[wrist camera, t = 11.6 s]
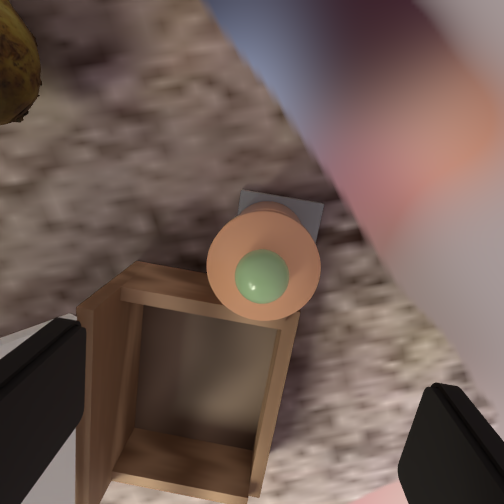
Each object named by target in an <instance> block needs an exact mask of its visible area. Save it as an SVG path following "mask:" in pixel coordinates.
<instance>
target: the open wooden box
mask: <svg viewBox="0 0 504 504" xmlns="http://www.w3.org/2000/svg"><path fill="white" fill-rule="evenodd" d="M299 316H300V309H299V310H298V311H296V312H295V313H293V314H291V315H289V316H287V317H284V318H281V319H277V320H271V321H259V320H252V319H248V318H245V317H242V316H240V315H238V314H236V313H234V312H232V311H231V310H229V309H228V308H227V307H226V306H225V305H223V304H222V302H221V301H220V300H219V299H218V298H217V296H216V295H215V293H214V292H213V290H212V288H211V286H210V283H209V280H208V275H207V273H202V272H196V271H190V270H185V269H179V268H174V267H168V266H162V265H157V264H151V263H146V262H140V261H136V262H134V263H133V264H132V265H130V266H129V267H128V268H127V269H125V270H124V271H123V272H121V273H120V274H119V275H117V276H116V277H115V278H114V279H112V280H111V281H110V282H108V283H107V284H106V285H104V286H103V287H102V288H101V289H99V290H98V291H97V292H95V293H94V294H93V295H91V296H90V297H89V298H88V299H86V300H85V301H84V302H82V303H81V304H80V305H78V306H77V307H76V317H77V321H79V322H80V323H81V327H85V328H86V333H87V334H86V368H85V401H84V412H83V416H82V418H81V420H80V422H79V424H78V425H77V427H76V452H75V504H99V503H100V501H101V499H102V498H103V496H104V494H105V492H106V490H107V488H108V486H109V484H110V482H111V481H116V482H121V483H126V484H131V485H136V486H141V487H146V488H151V489H156V490H161V491H166V492H171V493H176V494H181V495H186V496H191V497H196V498H201V499H206V500H211V501H216V502H221V503H226V504H247V501H248V496H252V497H257V498H259V497H260V493H261V488H262V484H263V479H264V475H265V470H266V465H267V461H268V456H269V452H270V447H271V443H272V438H273V434H274V429H275V425H276V420H277V416H278V411H279V407H280V402H281V398H282V393H283V389H284V384H285V380H286V375H287V371H288V366H289V362H290V357H291V353H292V348H293V344H294V339H295V335H296V330H297V325H298V321H299Z"/></svg>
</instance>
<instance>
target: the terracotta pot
mask: <svg viewBox="0 0 504 504" xmlns="http://www.w3.org/2000/svg"><path fill="white" fill-rule="evenodd" d="M320 273H321V263H320V256H319V253H318V250H317V247H316V245H315V242H314V240H313V238H312V236H311V235H310V233H309V232H308V230H307V229H306V228H305V227H304V226H303V225H302V224H301V221H300V220H299V218H298V216H297V215H296V214H295V213H294V212H293V211H292V210H291V209H290V208H288V207H287V206H285V205H283V204H280V203H277V202H272V201H262V202H257V203H254V204H252V205H250V206H248V207H247V208H245V209H244V210H243V211H242V212H241V213H240V214H239V215H238V216H237V217H235V218H233V219H232V220H230V221H229V222H228V223H227V224H226V225H225V226H224V227H223V228H222V229H221V230H220V232H219V233H218V234H217V236H216V237H215V239H214V240H213V242H212V244H211V246H210V249H209V252H208V257H207V275H208V280H209V283H210V286H211V288H212V290H213V292H214V293H215V295H216V296H217V298H218V299H219V300H220V301H221V302H222V304H223V305H225V306H226V307H227V308H228V309H229V310H231V311H232V312H234V313H236V314H238V315H240V316H242V317H245V318H248V319H252V320H259V321H271V320H277V319H281V318H284V317H287V316H289V315H291V314H293V313H295V312H296V311H298V310H299V309H301V308H302V307H303V306H304V305H305V304H306V303H307V302H308V301H309V300H310V299H311V297H312V295H313V294H314V292H315V290H316V288H317V286H318V282H319V279H320Z"/></svg>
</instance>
